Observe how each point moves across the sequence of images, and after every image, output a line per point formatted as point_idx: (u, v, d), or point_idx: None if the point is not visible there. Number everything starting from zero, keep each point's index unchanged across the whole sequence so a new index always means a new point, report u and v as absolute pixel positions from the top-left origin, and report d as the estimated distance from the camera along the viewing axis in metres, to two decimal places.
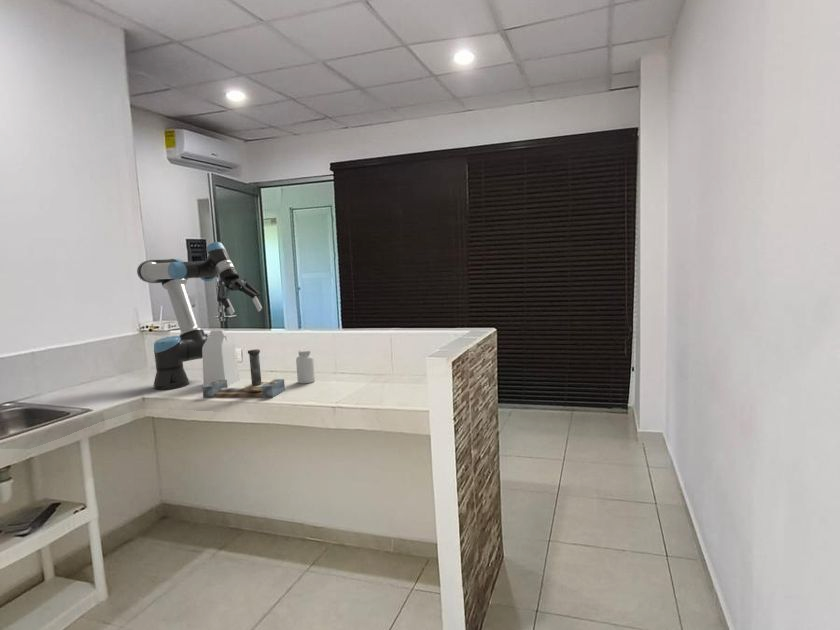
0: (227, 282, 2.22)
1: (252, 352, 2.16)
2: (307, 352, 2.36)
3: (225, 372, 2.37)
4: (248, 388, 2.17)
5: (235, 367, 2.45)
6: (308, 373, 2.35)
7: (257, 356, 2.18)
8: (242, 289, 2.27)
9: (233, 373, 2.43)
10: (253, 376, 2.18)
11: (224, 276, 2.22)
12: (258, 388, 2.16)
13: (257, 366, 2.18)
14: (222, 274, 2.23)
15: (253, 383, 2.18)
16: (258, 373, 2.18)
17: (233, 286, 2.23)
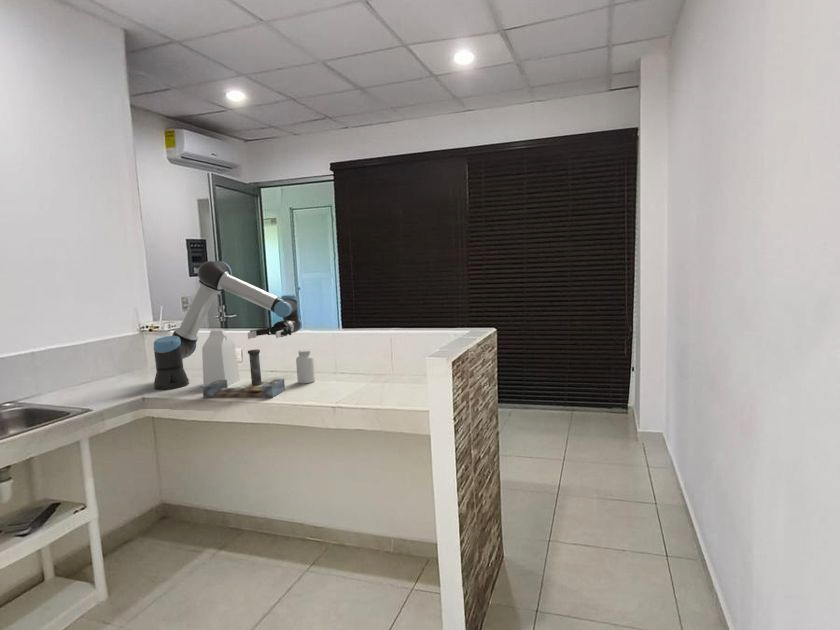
0: None
1: (252, 352, 2.16)
2: (307, 352, 2.36)
3: (225, 372, 2.37)
4: (248, 388, 2.17)
5: (235, 367, 2.45)
6: (308, 373, 2.35)
7: (257, 356, 2.18)
8: (267, 331, 2.39)
9: (233, 373, 2.43)
10: (253, 376, 2.18)
11: None
12: (258, 388, 2.16)
13: (257, 366, 2.18)
14: None
15: (253, 383, 2.18)
16: (258, 373, 2.18)
17: None
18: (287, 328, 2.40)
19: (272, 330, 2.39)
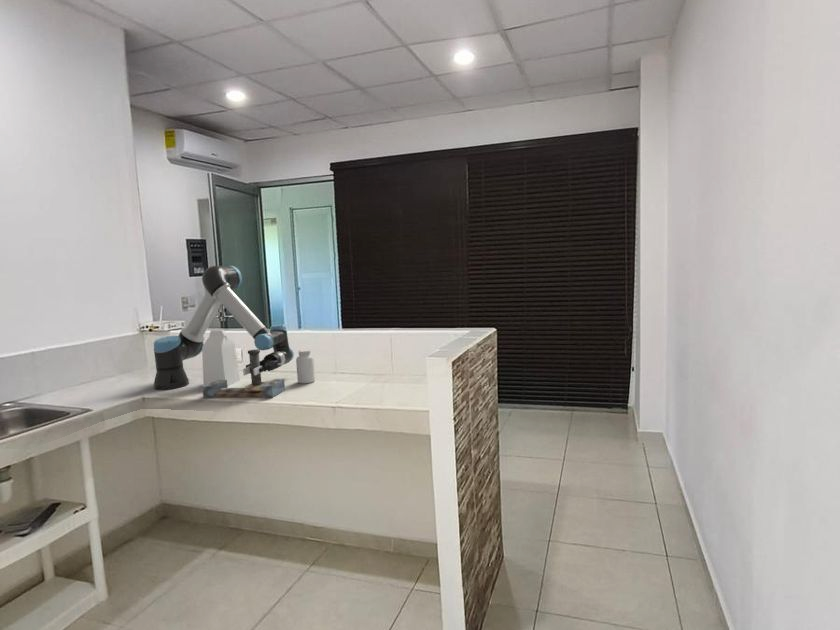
0: None
1: (252, 352, 2.16)
2: (307, 352, 2.36)
3: (225, 372, 2.37)
4: (248, 388, 2.17)
5: (235, 367, 2.45)
6: (308, 373, 2.35)
7: (257, 356, 2.18)
8: (260, 365, 2.27)
9: (233, 373, 2.43)
10: (253, 376, 2.18)
11: None
12: (258, 388, 2.16)
13: (257, 366, 2.18)
14: None
15: (253, 383, 2.18)
16: None
17: None
18: (275, 362, 2.29)
19: (262, 364, 2.28)
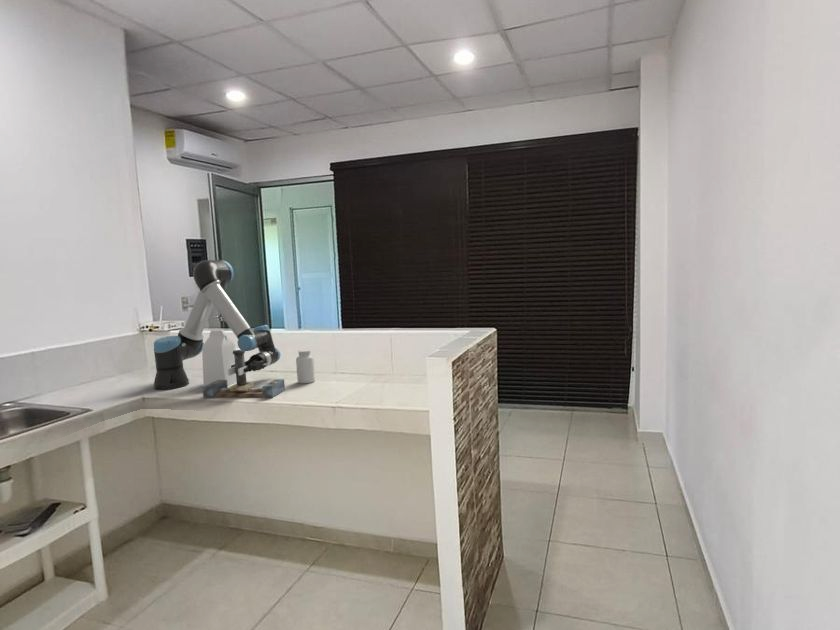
0: None
1: (237, 352, 2.17)
2: (307, 352, 2.36)
3: (225, 372, 2.37)
4: (233, 388, 2.18)
5: None
6: (308, 373, 2.35)
7: (242, 356, 2.19)
8: (246, 365, 2.28)
9: None
10: (238, 376, 2.19)
11: None
12: (243, 388, 2.17)
13: (242, 366, 2.19)
14: (265, 363, 2.36)
15: (238, 383, 2.19)
16: None
17: None
18: None
19: (248, 364, 2.29)
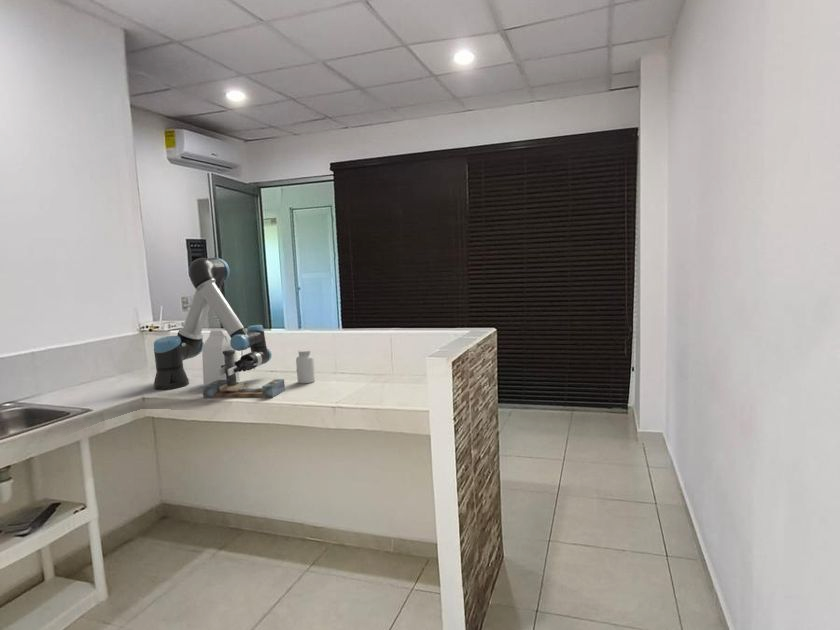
0: None
1: (227, 352, 2.18)
2: (307, 352, 2.36)
3: None
4: (223, 388, 2.19)
5: None
6: (308, 373, 2.35)
7: (232, 356, 2.20)
8: (236, 365, 2.29)
9: None
10: (228, 376, 2.20)
11: None
12: (233, 388, 2.18)
13: (232, 366, 2.20)
14: None
15: (228, 383, 2.20)
16: None
17: None
18: None
19: (238, 364, 2.30)
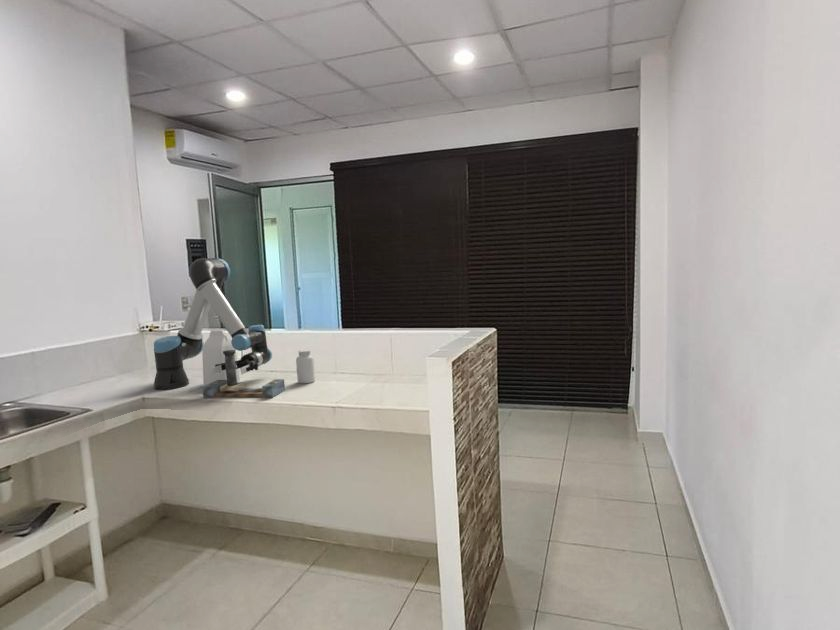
0: None
1: (227, 352, 2.18)
2: (307, 352, 2.36)
3: (225, 372, 2.37)
4: (223, 388, 2.19)
5: None
6: (308, 373, 2.35)
7: (232, 356, 2.20)
8: None
9: None
10: (228, 376, 2.20)
11: None
12: (233, 388, 2.18)
13: (232, 366, 2.20)
14: None
15: (228, 383, 2.20)
16: (233, 373, 2.20)
17: None
18: (254, 362, 2.31)
19: (239, 364, 2.30)
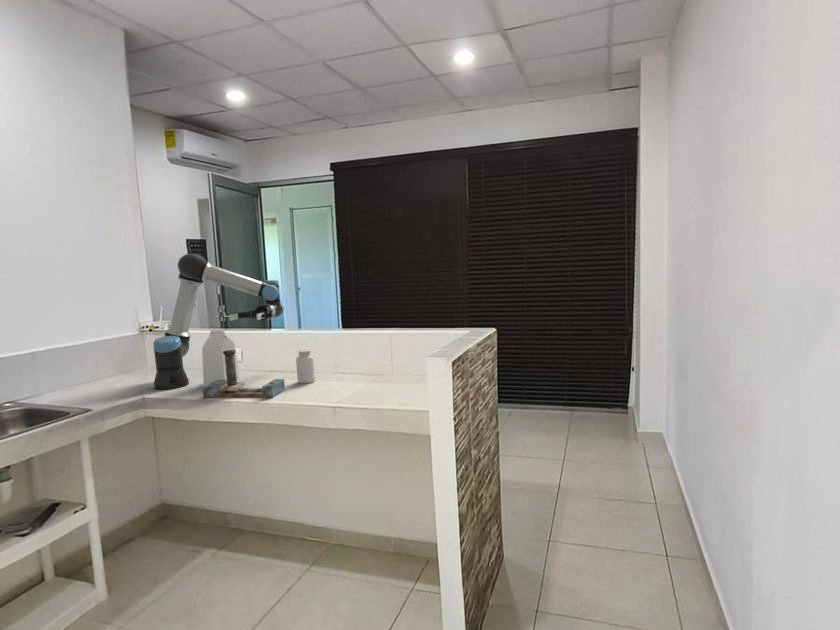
0: None
1: (227, 352, 2.18)
2: (307, 352, 2.36)
3: (225, 372, 2.37)
4: (223, 388, 2.19)
5: None
6: (308, 373, 2.35)
7: (232, 356, 2.20)
8: (249, 314, 2.46)
9: None
10: (228, 376, 2.20)
11: None
12: (233, 388, 2.18)
13: (232, 366, 2.20)
14: None
15: (228, 383, 2.20)
16: (233, 373, 2.20)
17: None
18: (268, 311, 2.48)
19: (254, 313, 2.46)
